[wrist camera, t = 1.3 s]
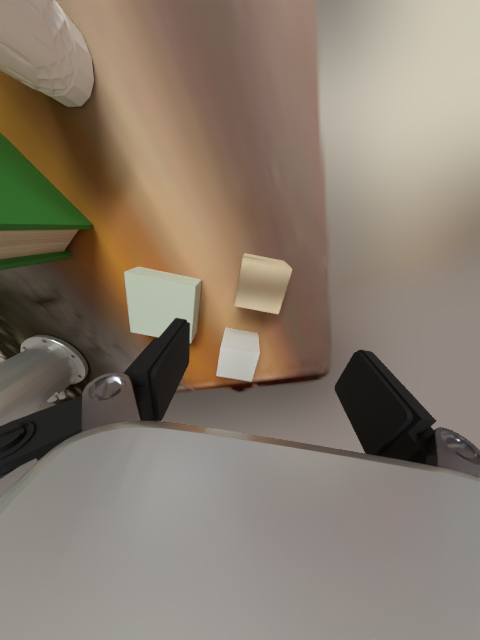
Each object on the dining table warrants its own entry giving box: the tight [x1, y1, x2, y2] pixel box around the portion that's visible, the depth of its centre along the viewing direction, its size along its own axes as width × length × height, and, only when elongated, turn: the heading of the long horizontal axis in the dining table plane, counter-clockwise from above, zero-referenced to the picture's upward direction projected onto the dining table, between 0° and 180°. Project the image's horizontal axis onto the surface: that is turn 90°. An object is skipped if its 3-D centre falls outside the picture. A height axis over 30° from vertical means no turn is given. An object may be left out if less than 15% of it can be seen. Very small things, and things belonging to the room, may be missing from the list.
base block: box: [124, 267, 202, 343], centre depth 29 cm, size 10×10×4 cm
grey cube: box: [216, 328, 260, 382], centre depth 31 cm, size 6×6×6 cm
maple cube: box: [235, 253, 292, 314], centre depth 25 cm, size 6×6×6 cm
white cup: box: [0, 0, 94, 107], centre depth 14 cm, size 8×8×10 cm
